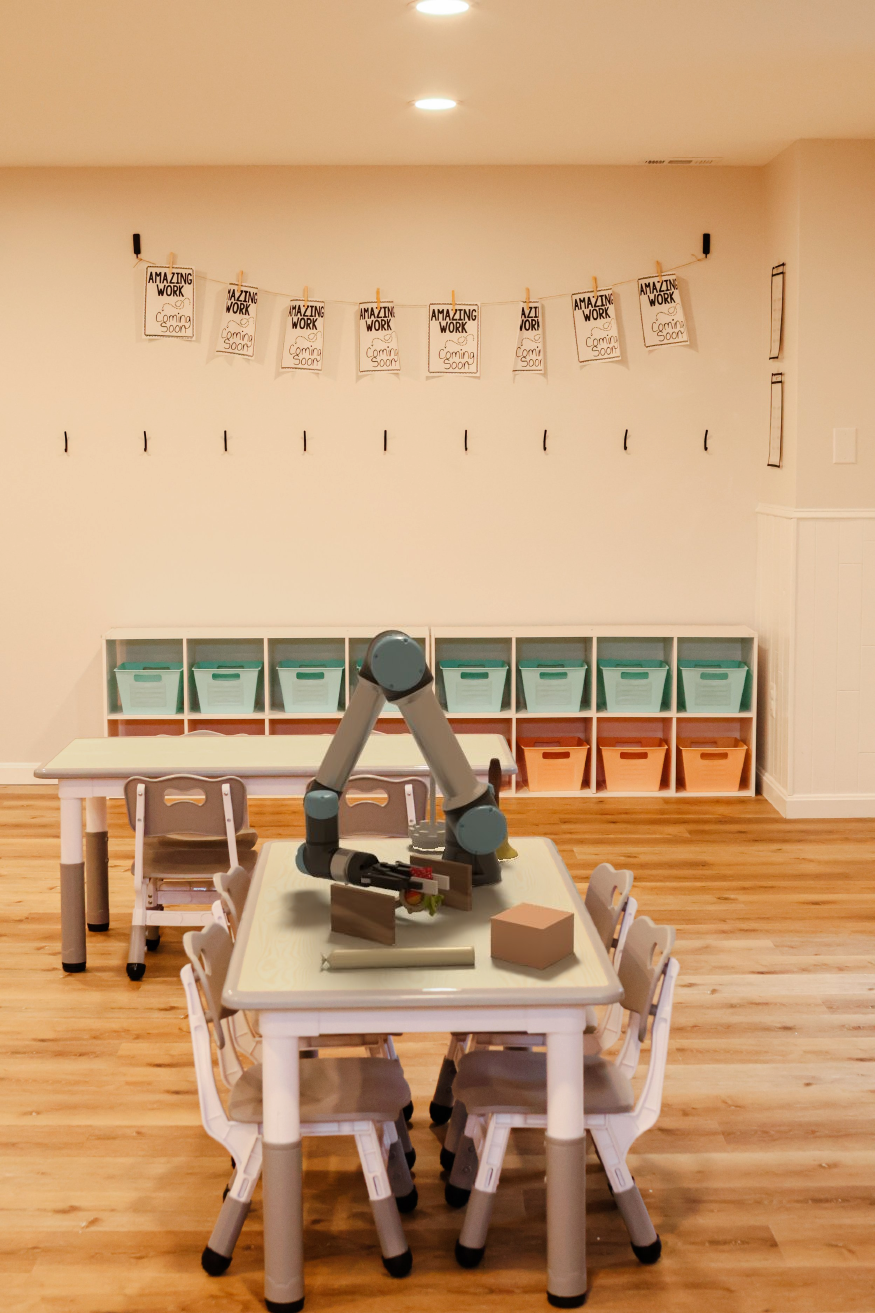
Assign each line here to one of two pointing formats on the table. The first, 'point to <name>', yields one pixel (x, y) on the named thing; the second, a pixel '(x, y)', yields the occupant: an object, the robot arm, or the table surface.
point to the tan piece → (400, 957)
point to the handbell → (496, 779)
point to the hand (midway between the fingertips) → (442, 885)
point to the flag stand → (429, 826)
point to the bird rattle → (420, 894)
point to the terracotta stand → (532, 935)
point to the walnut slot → (393, 902)
